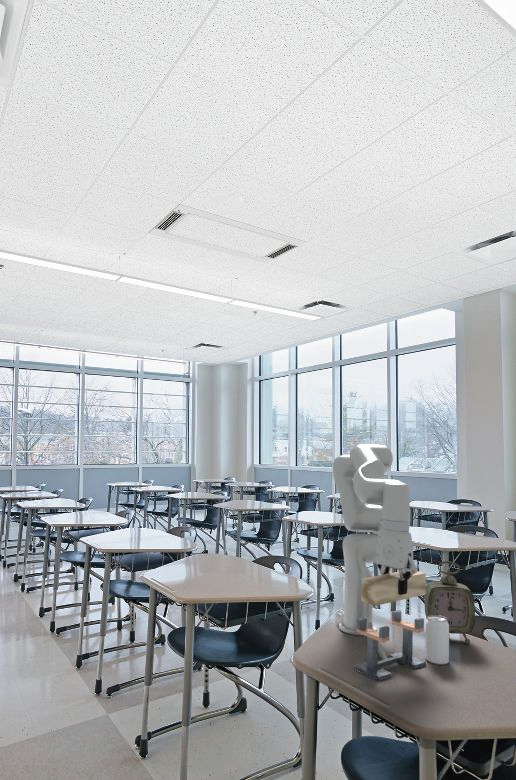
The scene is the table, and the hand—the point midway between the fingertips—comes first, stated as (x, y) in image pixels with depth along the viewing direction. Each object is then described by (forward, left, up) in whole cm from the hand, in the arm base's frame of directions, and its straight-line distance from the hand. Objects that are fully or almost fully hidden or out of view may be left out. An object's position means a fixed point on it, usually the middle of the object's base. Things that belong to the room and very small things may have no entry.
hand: (394, 590), depth 151 cm
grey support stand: (-1, 0, -21) cm, 21 cm away
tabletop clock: (-6, +35, -21) cm, 41 cm away
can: (+3, +16, -21) cm, 27 cm away
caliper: (-11, +6, -21) cm, 25 cm away
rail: (0, 0, -2) cm, 2 cm away
